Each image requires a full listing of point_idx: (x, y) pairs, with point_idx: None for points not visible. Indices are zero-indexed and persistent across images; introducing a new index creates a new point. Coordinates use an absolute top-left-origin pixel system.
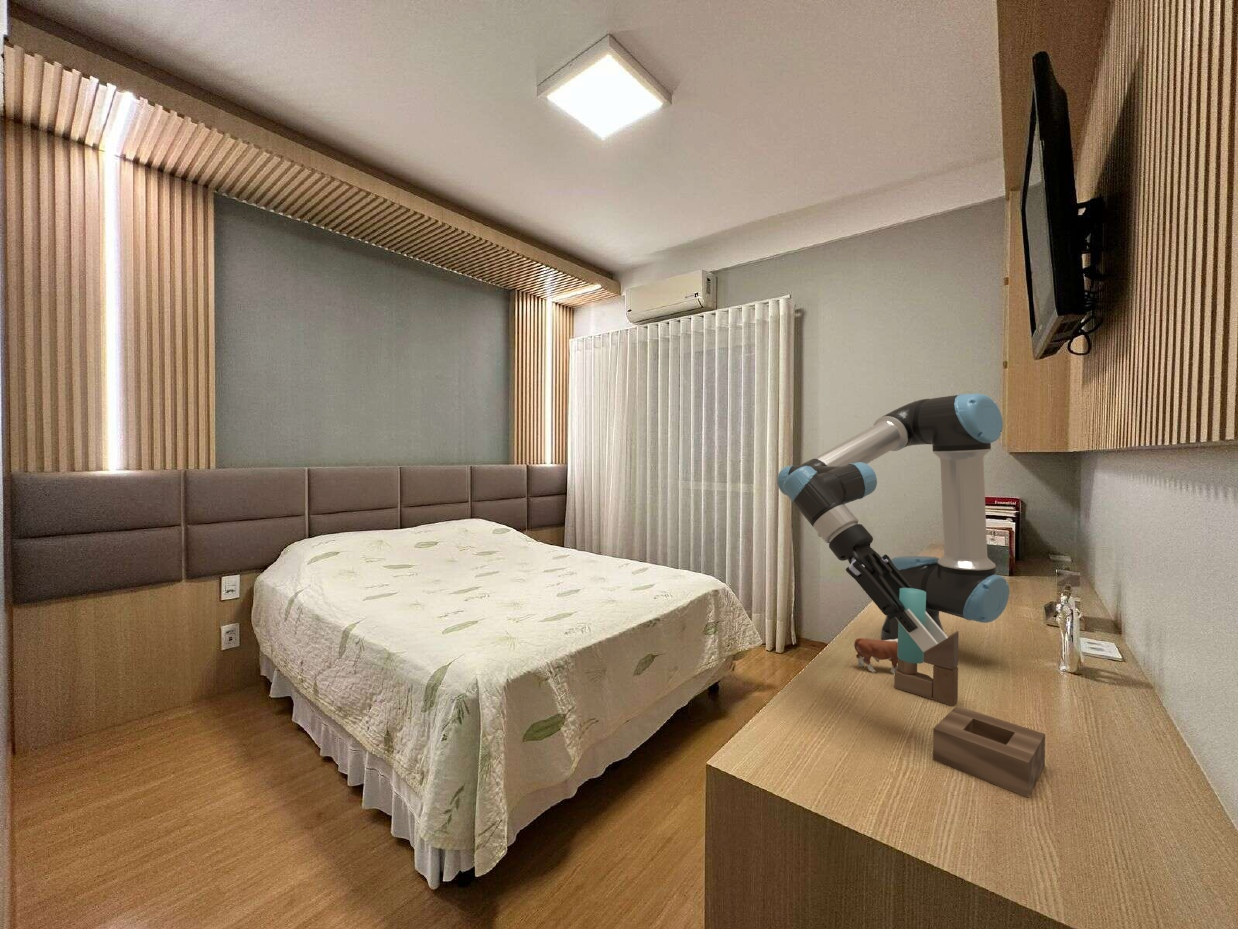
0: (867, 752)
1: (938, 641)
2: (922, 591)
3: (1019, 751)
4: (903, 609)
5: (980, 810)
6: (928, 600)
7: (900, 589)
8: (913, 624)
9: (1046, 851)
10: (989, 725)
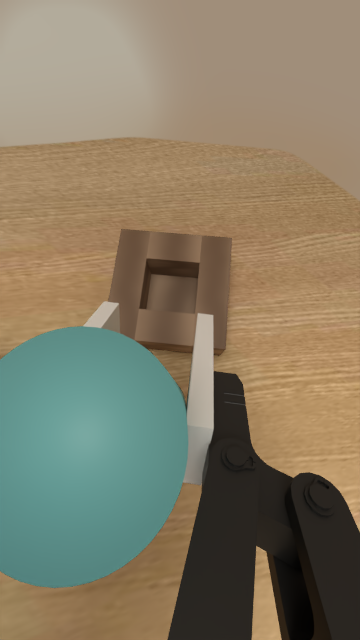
0: (271, 433)
1: (118, 331)
2: (33, 363)
3: (207, 248)
4: (246, 445)
5: (292, 293)
6: None
7: (109, 568)
8: (227, 385)
9: (312, 241)
10: (142, 288)
